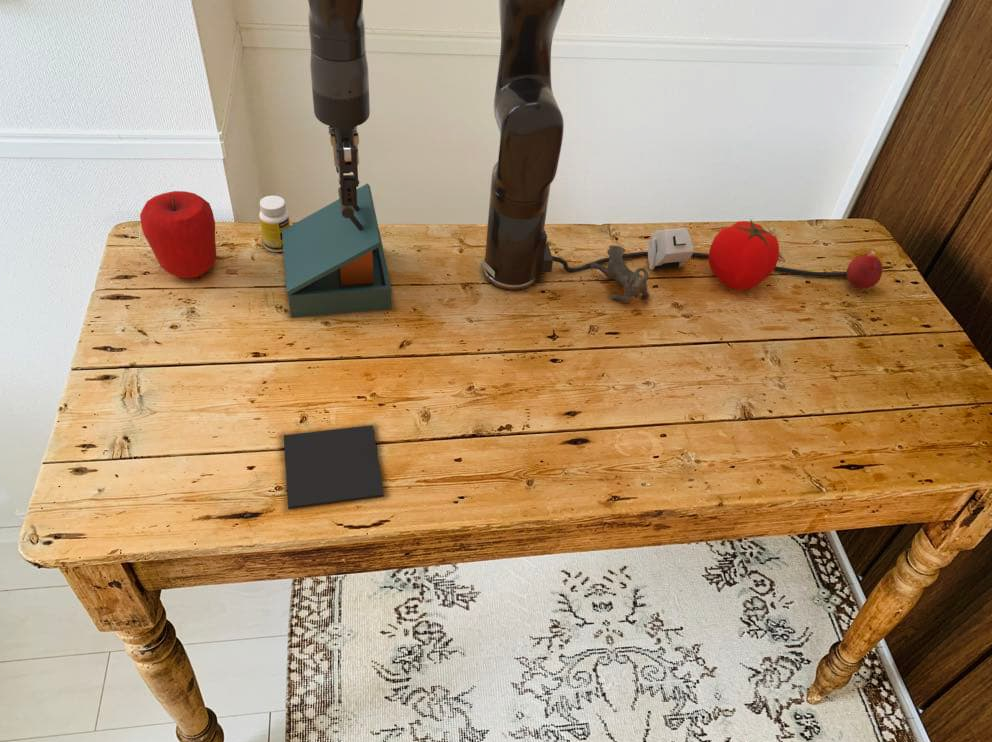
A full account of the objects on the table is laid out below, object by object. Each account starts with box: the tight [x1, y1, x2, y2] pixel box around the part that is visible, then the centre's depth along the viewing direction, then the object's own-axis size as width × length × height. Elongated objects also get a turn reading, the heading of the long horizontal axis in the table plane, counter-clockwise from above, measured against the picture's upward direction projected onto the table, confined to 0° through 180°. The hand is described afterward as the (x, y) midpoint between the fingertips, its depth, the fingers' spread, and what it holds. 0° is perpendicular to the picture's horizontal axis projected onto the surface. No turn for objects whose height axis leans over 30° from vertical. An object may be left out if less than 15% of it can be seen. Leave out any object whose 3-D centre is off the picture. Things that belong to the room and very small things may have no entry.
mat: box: [283, 424, 385, 509], centre depth 107 cm, size 12×12×1 cm
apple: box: [139, 190, 217, 280], centre depth 126 cm, size 10×10×14 cm
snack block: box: [339, 251, 374, 285], centre depth 130 cm, size 5×4×7 cm
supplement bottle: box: [258, 195, 291, 253], centre depth 134 cm, size 5×5×8 cm
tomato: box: [708, 218, 780, 291], centre depth 140 cm, size 12×12×11 cm
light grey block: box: [647, 227, 695, 271], centre depth 141 cm, size 6×7×10 cm
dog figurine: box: [590, 244, 650, 304], centre depth 136 cm, size 12×6×7 cm, turn 30°
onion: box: [846, 250, 884, 290], centre depth 143 cm, size 6×6×8 cm
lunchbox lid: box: [282, 183, 383, 295], centre depth 124 cm, size 16×16×5 cm
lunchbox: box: [287, 230, 393, 318], centre depth 131 cm, size 16×16×4 cm
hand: (346, 187), depth 120 cm, fingers open, 8 cm apart
